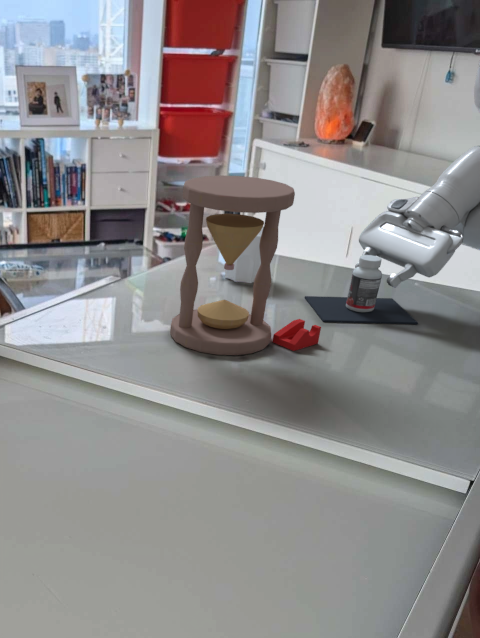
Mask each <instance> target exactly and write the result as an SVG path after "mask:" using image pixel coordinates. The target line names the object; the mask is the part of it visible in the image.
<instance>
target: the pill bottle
mask: <svg viewBox="0 0 480 638" xmlns="http://www.w3.org/2000/svg"><path fill="white" fill-rule="evenodd" d="M382 260H383V258H380V257H378V256H372V255H362V254H361V255H360V256H359V259H358V262H357V263H359V267H357V268H355V267H354V268H353V271H352V274H351V280H350V284H349V288H348V294H347V296H346V297H347V302H346V307H347V308H348V309H350V310H352V311H355V312H371V311H373V310H374V307H375V303H376V299H377V298H378V294H379V290H380V287H381V282H382V279H383V272H382V270H381V269H379V268H381V265H382Z"/></svg>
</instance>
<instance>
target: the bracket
mask: <svg viewBox="0 0 480 638" xmlns="http://www.w3.org/2000/svg"><path fill="white" fill-rule="evenodd" d="M305 324H306V321H305V320H303V319H301V318H297V319H294V320H291V322H288V323H287V324H286V325H285V326H283V327H282V328H280V329H279V330H278V331H275V332H274V333H273V334H272V335H273V337H272V343H273V344H275V345H278V346H280V347H282V348H285V349H288V350H290V351H293V352H295V351H296V352H297V351H299V350H302V349H304V348H308V347H311V346H314V345H318V344H319V340H320V335H321V331H322V326H320V325H318V324H314V325H311V328H310V330H309V329H306V328H305Z"/></svg>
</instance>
